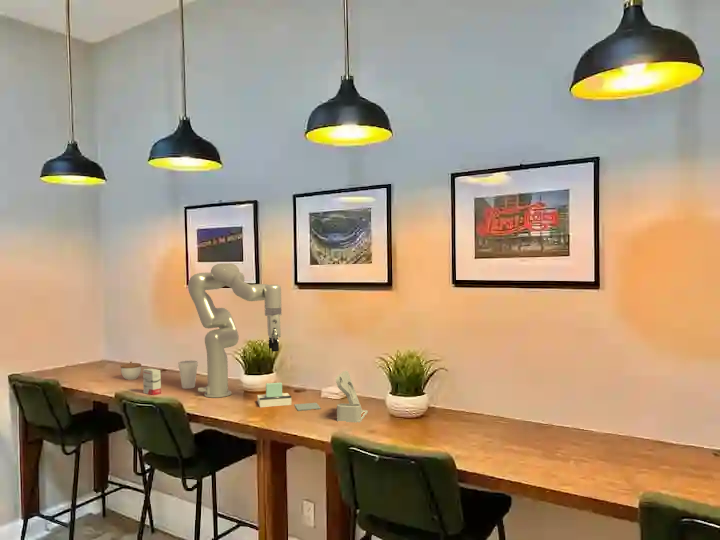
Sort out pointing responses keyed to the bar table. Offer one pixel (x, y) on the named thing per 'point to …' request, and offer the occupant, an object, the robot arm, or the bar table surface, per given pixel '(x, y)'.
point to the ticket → (273, 389)
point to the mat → (307, 406)
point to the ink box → (152, 381)
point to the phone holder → (352, 409)
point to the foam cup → (188, 373)
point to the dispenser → (274, 400)
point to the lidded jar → (131, 370)
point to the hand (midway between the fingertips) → (273, 349)
